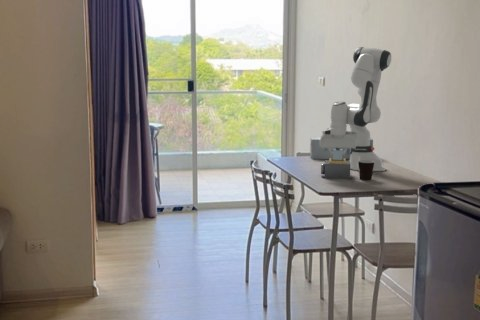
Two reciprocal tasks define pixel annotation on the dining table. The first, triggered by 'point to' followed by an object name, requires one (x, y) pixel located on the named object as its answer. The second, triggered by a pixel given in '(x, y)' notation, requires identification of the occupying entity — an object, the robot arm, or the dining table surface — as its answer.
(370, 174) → the coffee mug
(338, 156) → the light blue block
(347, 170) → the dark grey toaster
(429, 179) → the dining table surface
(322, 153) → the soda pack
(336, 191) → the dining table surface
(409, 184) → the dining table surface
